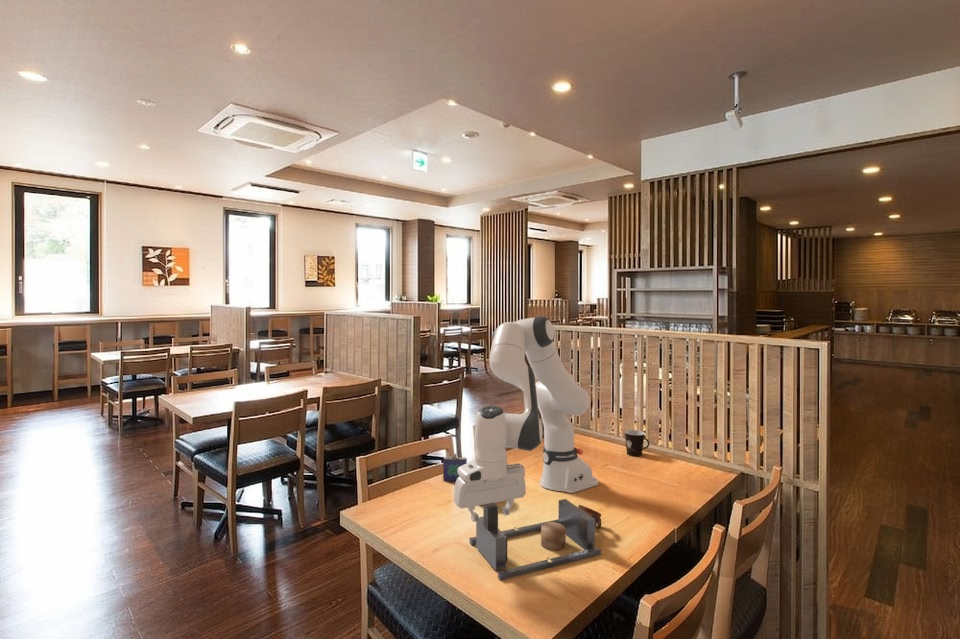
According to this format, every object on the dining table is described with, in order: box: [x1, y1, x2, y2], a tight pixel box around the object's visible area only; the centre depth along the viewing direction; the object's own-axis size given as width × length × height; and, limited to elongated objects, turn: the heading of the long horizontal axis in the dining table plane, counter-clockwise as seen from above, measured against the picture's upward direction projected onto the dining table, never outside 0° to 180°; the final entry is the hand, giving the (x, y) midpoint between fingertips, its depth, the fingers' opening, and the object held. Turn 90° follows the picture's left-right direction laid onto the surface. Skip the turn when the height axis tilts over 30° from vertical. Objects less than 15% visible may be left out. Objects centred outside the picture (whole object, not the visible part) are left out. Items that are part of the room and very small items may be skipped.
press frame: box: [469, 498, 602, 581], centre depth 141 cm, size 31×21×9 cm
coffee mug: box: [624, 429, 650, 458], centre depth 222 cm, size 12×9×10 cm
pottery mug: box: [577, 504, 602, 529], centre depth 152 cm, size 12×10×8 cm
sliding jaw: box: [475, 502, 508, 571], centre depth 136 cm, size 4×13×14 cm, turn 23°
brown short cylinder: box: [540, 521, 567, 552], centre depth 144 cm, size 7×7×5 cm
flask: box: [442, 452, 468, 483], centre depth 192 cm, size 9×3×11 cm, turn 87°
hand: (490, 517), depth 135 cm, fingers open, 8 cm apart
